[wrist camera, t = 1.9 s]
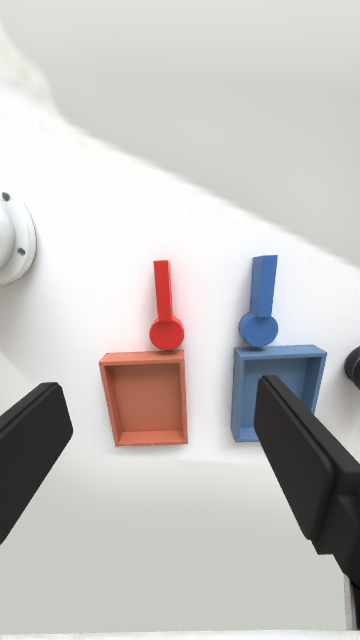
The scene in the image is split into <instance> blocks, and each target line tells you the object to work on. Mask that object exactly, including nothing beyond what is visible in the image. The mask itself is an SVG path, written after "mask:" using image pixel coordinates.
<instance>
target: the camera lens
mask: <svg viewBox="0 0 360 640" xmlns="http://www.w3.org/2000/svg"><path fill="white" fill-rule="evenodd" d="M344 370H345V373H346V375H347V377H348V378H349V379H350V380H351V381H353V382H354V384H355V385H356V386H357V388H359V389H360V346H359V347H358V348H356V349H355V350H354V351H353V352H351V354H350V355H349V356H348V358H347V360H346V363H345V368H344Z"/></svg>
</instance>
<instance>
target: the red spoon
mask: <svg viewBox="0 0 360 640" xmlns="http://www.w3.org/2000/svg"><path fill="white" fill-rule="evenodd" d="M154 272H155V284H156V296H157V308H158V318H157V319H156V320H155V321H154V323H153V325H152V327H151V329H150V339H151V342H152V343H153V344H154V345H155V346H156V347H157V348H159V349H161V350H166V351H168V350H173V349H175V348H177V347H178V346H179V345H180V344H181V343H182V341H183V338H184V329H183V325H182V323H181V321H180V320H179V319H178V318H176V317H175V316H173V314H172V297H171V280H170V263H169V261H168V260H163V261H154Z"/></svg>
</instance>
